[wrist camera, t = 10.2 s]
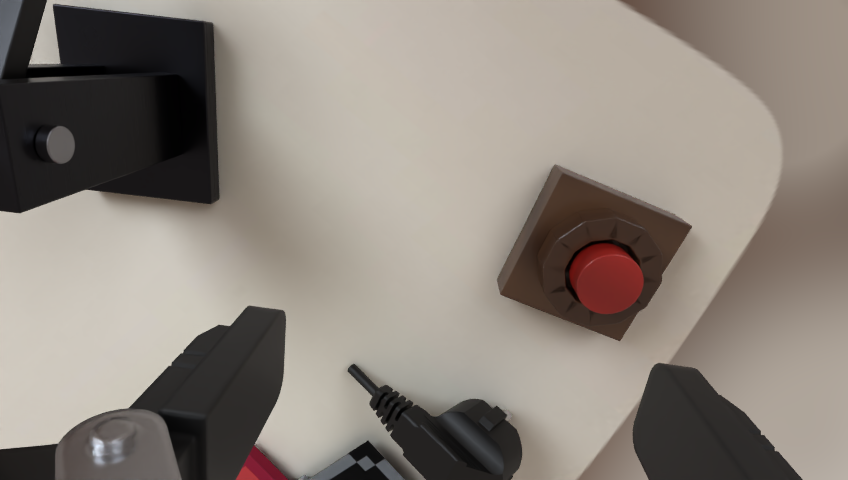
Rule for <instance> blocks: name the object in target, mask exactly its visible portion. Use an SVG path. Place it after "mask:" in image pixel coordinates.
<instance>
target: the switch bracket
mask: <svg viewBox="0 0 848 480" xmlns="http://www.w3.org/2000/svg"><path fill="white" fill-rule="evenodd" d="M53 11H54V18H55V25H56V33H57V40H58V48H59V55H60V62H61V64H29V66H28V69H27V73H26V76H25V78H23V79H1V80H0V211H5V212H14V213H22V212H25V211H28V210H30V209H33V208H36V207H39V206H41V205H44V204H47V203H50V202H52V201H55V200H58V199H61V198H64V197H66V196H69V195H72V194H75V193H77V192H80V191H83V190H94V191H103V192H111V193H120V194H128V195H137V196H146V197H154V198H163V199H171V200H180V201H189V202H197V203H206V204H212V203H213V202H215V201H217V200H218V199H219V179H218V150H217V122H216V93H215V64H214V36H213V23H211V22H205V21H197V20H189V19H180V18H171V17H163V16H154V15H145V14H137V13H128V12H119V11H111V10H102V9H93V8H85V7H76V6H67V5H59V4H53Z"/></svg>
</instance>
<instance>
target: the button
mask: <svg viewBox="0 0 848 480" xmlns="http://www.w3.org/2000/svg"><path fill="white" fill-rule="evenodd" d="M569 279H570V283H571V285H572V287H573V289H574V291H575V292H576V294H577V296H578V298H579V300H580V301H581V303H582V304H583V305H584V306H585V307H586V308H588V309H589V310H591V311H593V312H596V313H600V314H613V313H618V312H621V311H623V310H625V309H627V308H628V307H630V306H631V305H632V304H633V303H634V302H635V301H636V300H637V299H638V297H639V296H640V294H641V292H642V289H643V283H644V279H643V273H642V271H641V269H640V267H639V266H638V264H637V263H636V262H635V261H634V260H633V259H632V258H631V257H630V256H629V255H628V254H627V252H626V251H624V250H623V249H622V248H621V247H619V246H617V245H614V244H609V243H599V244H594V245H591V246H589V247H587V248H585V249H583V250H582V251H581V252H580V253H578V254H577V256H576V257H575V258H574V260H573V262H572V264H571V266H570V271H569Z"/></svg>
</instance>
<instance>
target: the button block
mask: <svg viewBox="0 0 848 480" xmlns="http://www.w3.org/2000/svg"><path fill="white" fill-rule="evenodd" d="M691 228H692V226H691V225H690V224H688V223H687V222H685V221H684V220H682V219H681V218H679V217H678V216H676V215H675V214H672V213H670V212H668V211H665V210H663V209H660V208H658V207H656V206H653V205H651V204H648V203H646V202H644V201H641V200H639V199H637V198H634V197H632V196H629V195H627V194H625V193H622V192H620V191H618V190H615V189H613V188H610V187H608V186H606V185H603V184H601V183H598V182H596V181H594V180H591V179H589V178H587V177H584V176H582V175H579V174H577V173H575V172H572V171H570V170H568V169H565V168H563V167H560V166H558V165H554V167H553V169H552V171H551V173H550V175H549V177H548V179H547V181H546V183H545V185H544V187H543V189H542V191H541V193H540V195H539V197H538V199H537V201H536V203H535V205H534V207H533V209H532V211H531V213H530V215H529V217H528V219H527V221H526V223H525V225H524V227H523V229H522V231H521V233H520V235H519V237H518V239H517V240H516V242H515V244H514V246H513V248H512V250H511V252H510V254H509V256H508V258H507V260H506V262H505V264H504V266H503V268H502V270H501V272H500V274H499V276H498V278H497V282H498V286H499V290H500V294H501V295H503V296H505V297H508V298H510V299H513V300H516V301H518V302H521V303H523V304H526V305H528V306H531V307H534V308H536V309H539V310H541V311H544V312H546V313H549V314H552V315H554V316H557V317H559V318H562V319H564V320H567V321H570V322H572V323H575V324H577V325H580V326H582V327H585V328H587V329H590V330H593V331H595V332H598V333H600V334H603V335H605V336H608V337H611V338H613V339H616V340H618V341H620V340H621V339H622V337H623V335H624V334H625V332H626V331H627V329H628V327H629V326H630V324H631V323H632V321H633V320H634V318H635V316H636V315H637V313H638V312H639V311H641V310H642V309H644V308H645V307H646V306H647V305H648V303H649V302H650V300H651V298H652V297H653V295H654V294H655V292H656V291H657V289H658V287H659V286H660V284H661V282H662V274H663V272H664V270H665V269H666V267H667V266H668V264H669V263H670V261H671V259H672V258H673V256H674V255H675V253H676V251H677V250H678V248H679V247H680V245H681V244H682V242H683V240H684V239H685V237H686V236H687V234H688V232H689V231H690V229H691ZM599 243H609V244H614V245H617V246H619V247H621V248H622V249H623V250H624V251H626V252H627V254H628V255H629V256H630V257H631V258H632V259H633V260H634V261H635V262H636V263H637V264H638V266H639V267H640V269H641V271H642V273H643V279H644V283H643V289H642V292H641V294H640V296H639V297H638V299H637V300H636V301H635V302H634V303H633V304H632V305H631V306H630V307H628V308H627V309H625V310H623V311H621V312H618V313H613V314H600V313H596V312H593V311H591V310H589V309H588V308H586V307H585V306H584V305H583V304H582V303H581V301H580V300H579V298H578V296H577V294H576V292H575V291H574V289H573V287H572V285H571V283H570V279H569V271H570V266H571V264H572V262H573V260H574V258H575V257H576V256H577V254H578V253H580V252H581V251H582V250H583V249H585V248H587V247H589V246H591V245H594V244H599Z"/></svg>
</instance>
